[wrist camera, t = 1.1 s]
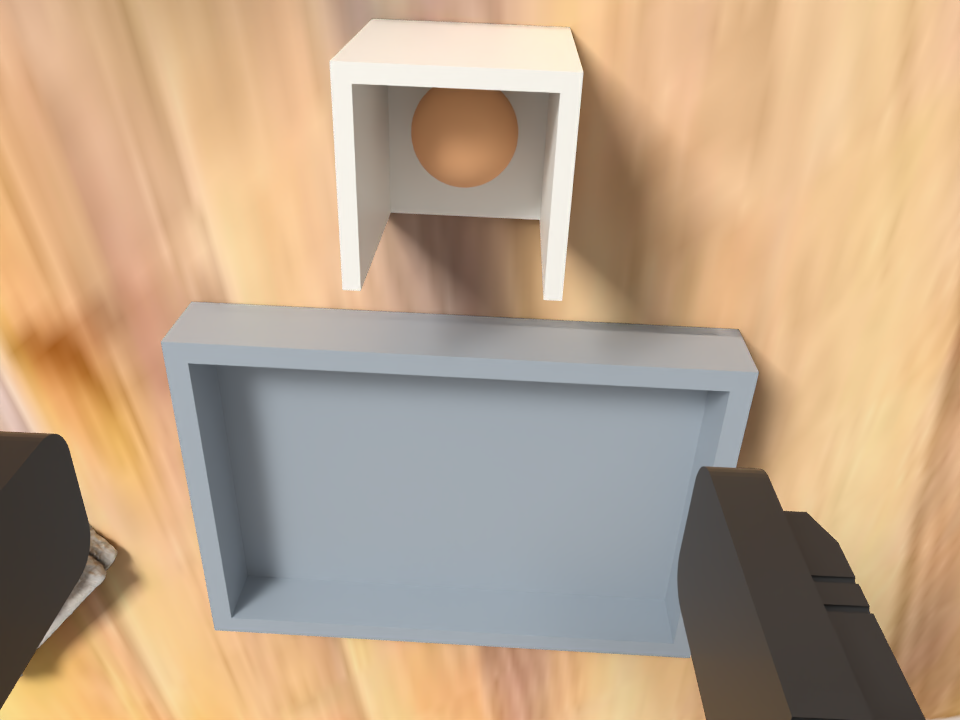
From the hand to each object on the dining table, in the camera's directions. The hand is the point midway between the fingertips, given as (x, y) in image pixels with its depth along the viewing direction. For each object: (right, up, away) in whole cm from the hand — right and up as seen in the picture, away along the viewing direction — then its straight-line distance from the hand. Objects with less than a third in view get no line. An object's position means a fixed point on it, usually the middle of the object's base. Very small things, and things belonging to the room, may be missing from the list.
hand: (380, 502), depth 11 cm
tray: (0, -3, +23) cm, 23 cm away
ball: (+1, +9, +14) cm, 17 cm away
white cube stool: (+1, +10, +16) cm, 19 cm away
